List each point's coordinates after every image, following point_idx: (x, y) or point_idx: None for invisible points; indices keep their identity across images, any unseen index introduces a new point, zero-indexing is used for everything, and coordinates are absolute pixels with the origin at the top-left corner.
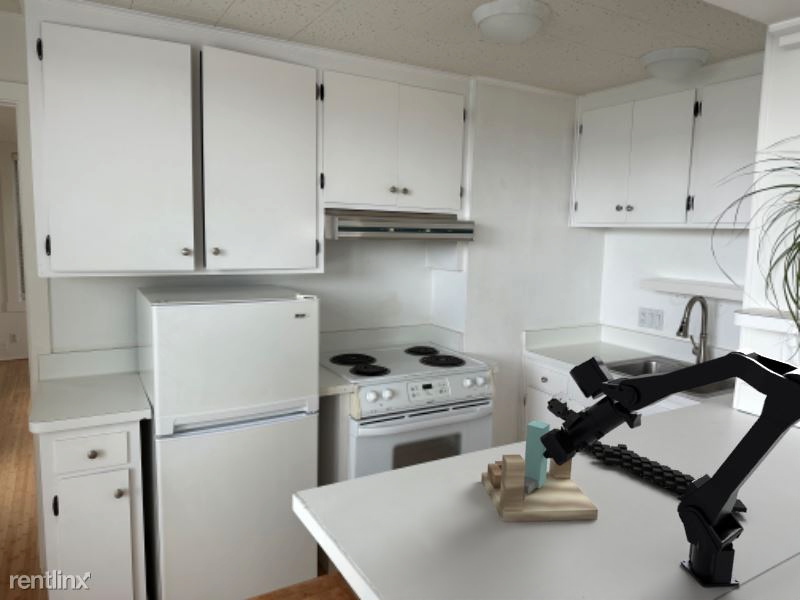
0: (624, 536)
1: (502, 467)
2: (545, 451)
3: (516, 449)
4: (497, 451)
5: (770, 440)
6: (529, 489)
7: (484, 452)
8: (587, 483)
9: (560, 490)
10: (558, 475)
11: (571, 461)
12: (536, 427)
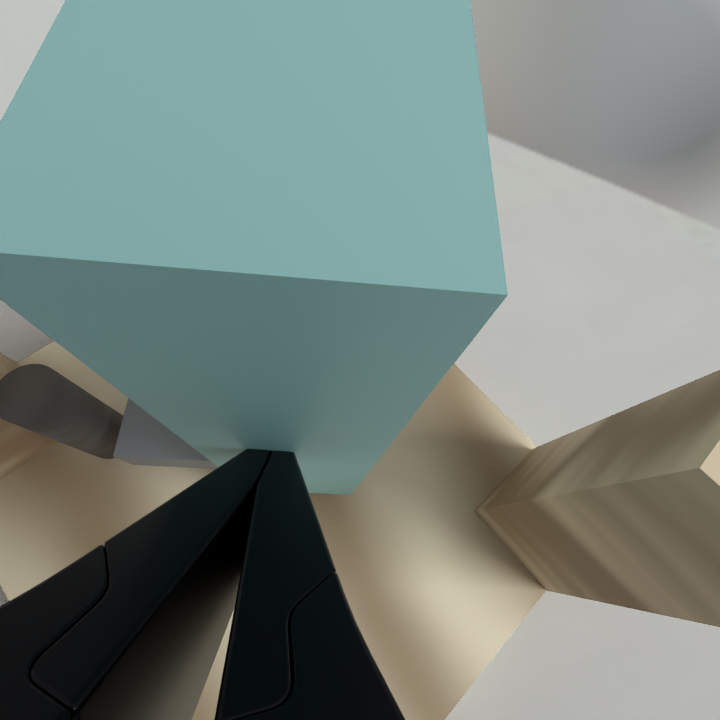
0: None
1: None
2: (215, 474)
3: (667, 241)
4: (586, 194)
5: None
6: (139, 462)
7: (537, 162)
8: (640, 659)
9: (352, 598)
10: (496, 525)
11: (620, 603)
12: (34, 102)
